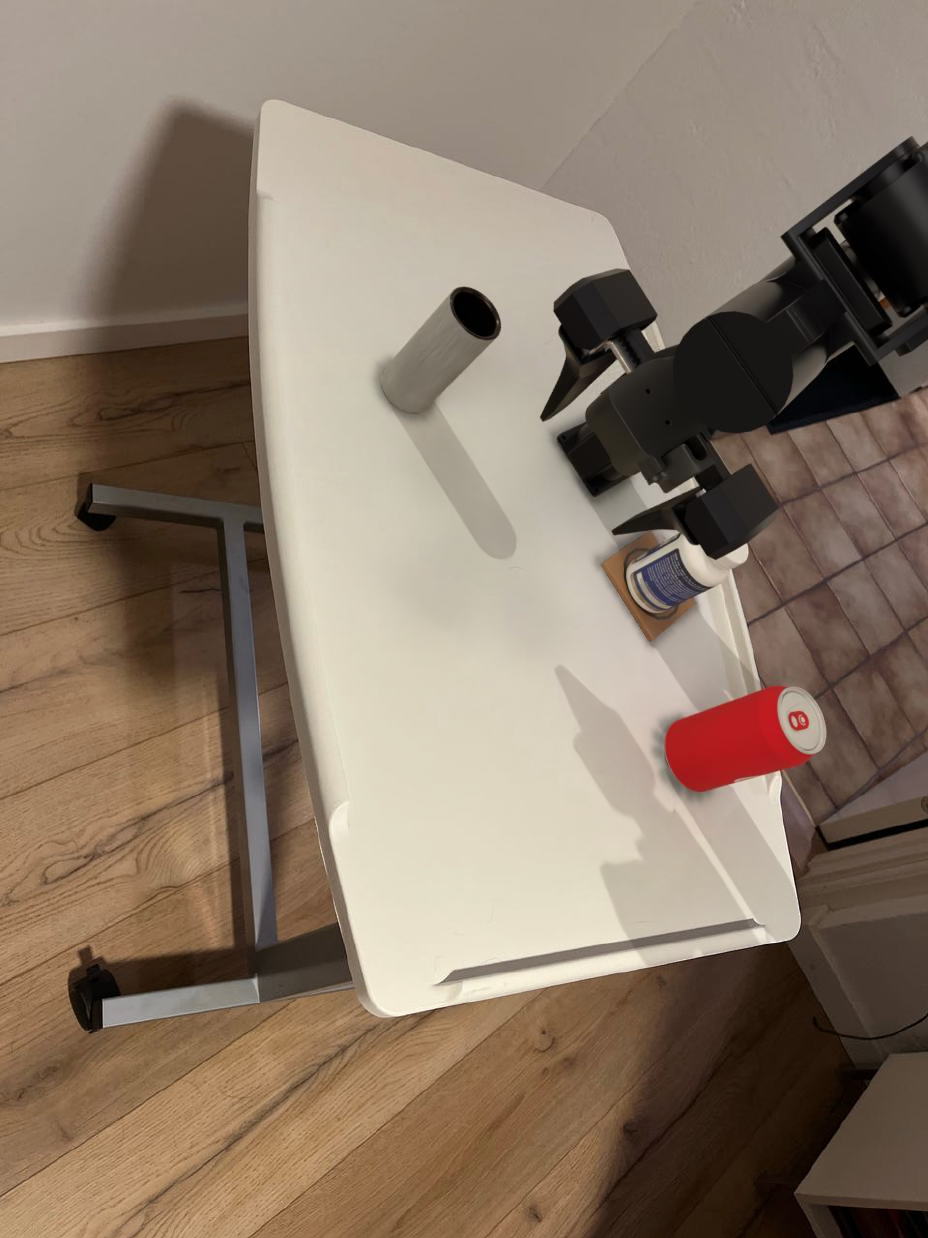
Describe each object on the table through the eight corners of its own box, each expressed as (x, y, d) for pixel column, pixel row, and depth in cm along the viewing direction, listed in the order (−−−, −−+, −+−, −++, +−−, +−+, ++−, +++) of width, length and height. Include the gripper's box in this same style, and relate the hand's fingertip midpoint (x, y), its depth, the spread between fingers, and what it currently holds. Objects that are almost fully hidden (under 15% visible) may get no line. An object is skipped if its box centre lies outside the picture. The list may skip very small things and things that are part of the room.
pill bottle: (666, 624, 80) (755, 582, 73) (622, 599, 78) (708, 553, 70) (669, 574, 83) (755, 529, 76) (626, 548, 81) (710, 499, 73)
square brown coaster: (647, 532, 84) (651, 530, 84) (692, 605, 84) (697, 603, 84) (600, 564, 79) (604, 561, 78) (649, 641, 79) (653, 639, 78)
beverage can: (719, 788, 77) (841, 755, 68) (671, 799, 74) (793, 766, 64) (697, 717, 79) (813, 676, 70) (649, 725, 75) (765, 683, 66)
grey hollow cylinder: (371, 389, 71) (441, 309, 63) (392, 354, 73) (461, 274, 66) (417, 424, 72) (491, 351, 64) (435, 389, 75) (509, 315, 67)
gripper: (592, 220, 45) (430, 388, 57) (790, 535, 45) (587, 637, 57) (698, 198, 53) (534, 351, 65) (868, 469, 53) (673, 572, 65)
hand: (579, 474), depth 62 cm, fingers open, 9 cm apart
